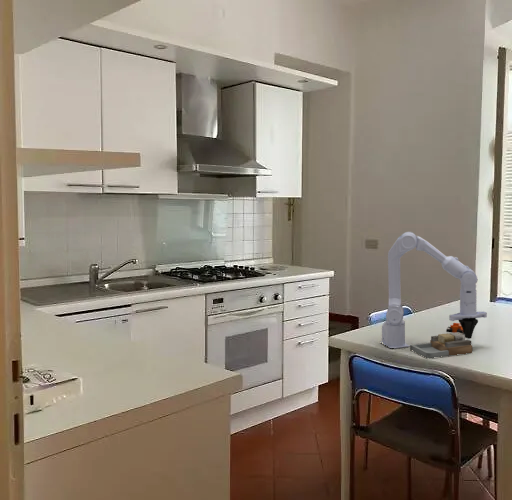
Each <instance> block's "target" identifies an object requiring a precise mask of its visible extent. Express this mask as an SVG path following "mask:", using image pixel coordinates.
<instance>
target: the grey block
mask: <svg viewBox="0 0 512 500" xmlns="http://www.w3.org/2000/svg"><path fill="white" fill-rule="evenodd" d="M448 334H451V335H453V336H454V341H460V340H466V338H465V335H464V333H459V332H455V333H453V332H448Z"/></svg>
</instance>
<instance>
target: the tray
mask: <svg viewBox="0 0 512 500" xmlns="http://www.w3.org/2000/svg"><path fill="white" fill-rule="evenodd" d="M409 345H410V347H409V349H411V350H413V351H414V352H413V351H412V352H413V353H415V352H416V353H415V354H417V353H418V354H417V355H419V354H420V355H419V356H421V355H422V356H421V357H423V356H424V357H423V358H425V357H426V358H425V359H427V358H432V359H435V358H434V357H440V358H442V357H441V356H448V357H450V356H449V351H448V350H445V351H440V350H437V349H435V348H433V347H432V343H430V342H425V343H416V344H409ZM411 350H410V351H411Z"/></svg>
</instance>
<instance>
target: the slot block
mask: <svg viewBox="0 0 512 500" xmlns="http://www.w3.org/2000/svg"><path fill="white" fill-rule="evenodd" d="M429 343H432V347H433V348H435V349H437V350H440V351H445V350H448V351H449V355H456V356H458V355H457V354H464V355H467V354H466V353H472V354H473V344H472V340H470V339H465V340H460V341H452V342H445V345H443V344H441V343H439V342H438V335H431V336H430V342H429Z"/></svg>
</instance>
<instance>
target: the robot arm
mask: <svg viewBox="0 0 512 500" xmlns="http://www.w3.org/2000/svg"><path fill="white" fill-rule="evenodd" d="M414 249H415V251H419V252H420V251H421V252H422V251H423V252H424V253H426V254H427V255H429V256H431V257H432V258H433V259H435V260H436V261H437V262H439V263H441V267H442V270H444V271H445V272H446V273H448V274H449V275H451V276H452V277H453V278H455V279H459V281H460V289H459V312H458V313H453V314H449V316H448V317H449V321H451V322H455V321H458V323H460V324H461V326H462V328H463V331H464V332H463V334H464V335H465V339H466V340H470V339H472V337H473V333H474V330H475V328H476V326H477V324H478V322H479V319H481V318H484V319H485V318H487V316H488V313H487V312H486V311H484V310H483V311H477V283H478V277H477V275H476V272H475V271H474V270H473V269H472V268H470V267H469V265H465V264H463V263H462V262H461V261H459V257H457V256H453V255H448V256H447V255H445V254H444V253H443V252H441V251H440V250H439V249H438V248H437V247H435V246H434V245H433V244H431V243H430V242H429V241H428V240H426V239H424V238H423V237H421V236H419V235H416V234H415V233H414V232H413V231H406V232H403V233H402V234H401V235H400V236H398V237H397V239H396V240H395V242H394V243H393V244H392V246H391V248H390V249H389V250H388V251H387V252H388V253H387V267H388V268H387V269H388V270H387V272H388V273H387V274H388V279H387V281H388V305H387V306H388V307H387V312H386V313H385V318H386V320H385V321H383V324H382V325H381V341H380V342H381V343H382V342H383V344H384V345H383V344H382V345H383V346H385V345H386V346H385V347H387V346H388V347H387V348H388V349H390V348H394V349H401V348H402V349H403V348H410V345H411V344H408V343H406V321H405V320H404V314H405V310H404V307H403V305H402V292H401V291H402V287H401V283H402V282H401V281H402V280H401V258H402V257H403V256H404V255H405V254H406V253H408V252H411V251H412V250H414ZM381 343H380V344H381Z"/></svg>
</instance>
